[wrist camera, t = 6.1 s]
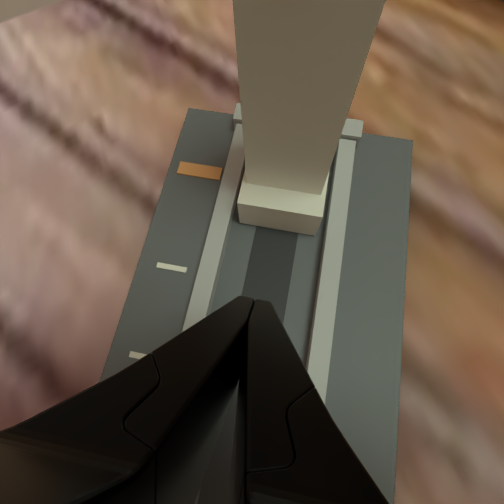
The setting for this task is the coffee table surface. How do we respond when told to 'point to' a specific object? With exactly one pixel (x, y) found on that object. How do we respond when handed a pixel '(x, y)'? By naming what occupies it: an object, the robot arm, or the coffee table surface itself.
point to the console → (285, 279)
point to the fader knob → (296, 101)
